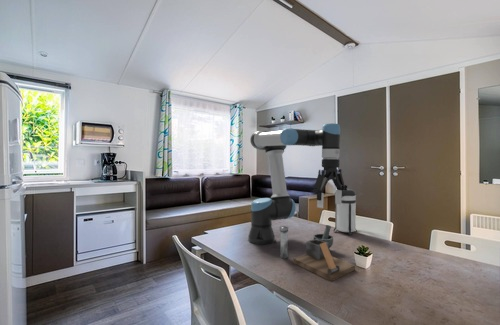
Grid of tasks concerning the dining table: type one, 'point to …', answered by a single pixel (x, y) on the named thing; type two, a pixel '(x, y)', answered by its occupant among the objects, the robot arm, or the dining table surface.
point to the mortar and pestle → (325, 236)
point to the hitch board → (321, 262)
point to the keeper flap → (328, 257)
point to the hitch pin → (284, 242)
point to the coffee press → (346, 212)
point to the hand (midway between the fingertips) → (329, 205)
